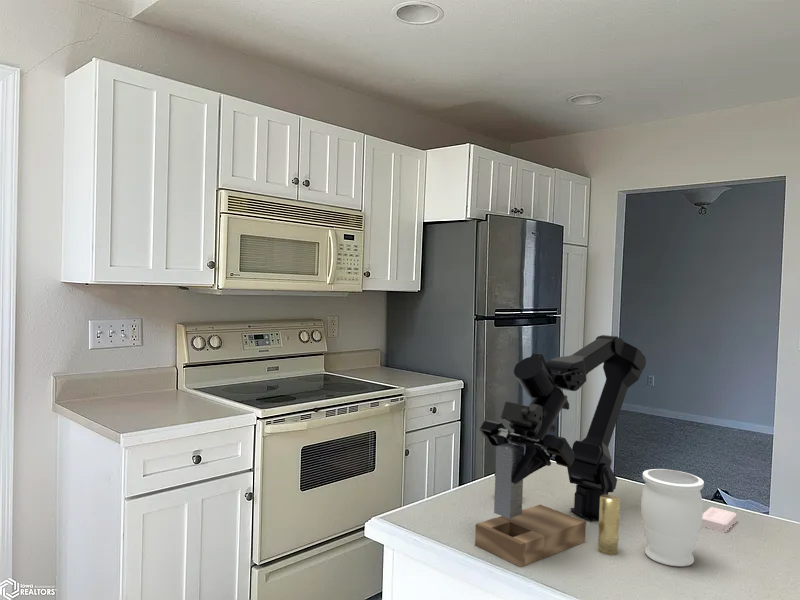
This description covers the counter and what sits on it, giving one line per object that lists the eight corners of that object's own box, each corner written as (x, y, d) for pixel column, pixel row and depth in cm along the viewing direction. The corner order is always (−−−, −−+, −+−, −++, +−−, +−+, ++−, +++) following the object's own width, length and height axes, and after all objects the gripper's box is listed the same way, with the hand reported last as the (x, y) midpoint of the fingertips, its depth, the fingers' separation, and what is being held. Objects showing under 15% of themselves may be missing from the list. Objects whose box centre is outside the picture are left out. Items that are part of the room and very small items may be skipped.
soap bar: (697, 527, 129) (698, 516, 129) (709, 516, 136) (710, 505, 136) (725, 535, 126) (726, 523, 126) (736, 523, 132) (737, 512, 132)
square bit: (506, 508, 116) (508, 442, 116) (521, 514, 113) (524, 447, 113) (494, 512, 114) (496, 445, 113) (509, 518, 111) (512, 450, 111)
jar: (696, 576, 106) (700, 489, 105) (633, 560, 111) (637, 477, 111) (703, 554, 115) (707, 475, 114) (644, 540, 120) (648, 464, 120)
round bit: (608, 545, 117) (610, 493, 117) (622, 553, 114) (624, 499, 114) (593, 548, 116) (595, 495, 115) (607, 556, 112) (609, 502, 112)
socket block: (539, 523, 127) (540, 504, 127) (585, 541, 118) (585, 521, 118) (474, 545, 115) (475, 523, 115) (520, 567, 107) (521, 544, 106)
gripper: (486, 379, 122) (447, 442, 115) (568, 393, 109) (529, 466, 101) (510, 413, 128) (473, 476, 121) (590, 431, 114) (554, 503, 107)
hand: (504, 479), depth 112 cm, fingers closed on square bit, 4 cm apart
